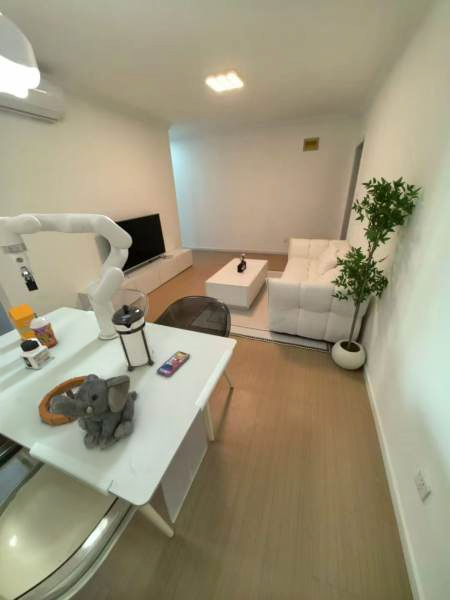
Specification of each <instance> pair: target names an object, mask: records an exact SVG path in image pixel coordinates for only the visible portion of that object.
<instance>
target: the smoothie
mask: <svg viewBox="0 0 450 600" xmlns="http://www.w3.org/2000/svg"><path fill="white" fill-rule="evenodd" d="M34 315H35V317H36V318H34V319H33V320H32V321H31V323H30V328H31V329H32V331H33V333H34V334H35V336H36V337H37V338H36V339H38V341H39V343H40V345H41V346H47V348H48V349H49V348H52V347H54V346H56V344H57V341H58V340H57V336H56V335H55V332H54V329H53V327H52V325H51V321H50V320H49V319H48V318H46V317H44V316H38V315H37V313H36V312H34Z"/></svg>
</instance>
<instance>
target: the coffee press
mask: <svg viewBox="0 0 450 600" xmlns="http://www.w3.org/2000/svg"><path fill="white" fill-rule="evenodd" d="M114 312H115V313H114V314H113V317H112V319H111V320H112V323H113V324H114V328H115V331H116V333H117V335H118V336H117V338H118V341H119V344H120V348H121V350H122V354H123V357H124V360H125V362H126V364H127V371H129V372H132V371H133V368H134V367H140V366H143V365H145V364H149V366H152V365H153V364H154V363H155V362H154V360H153V359H152V357H153V349H152V346H151V345H152V344H151V341H150V339H149V338H150V337H149V333H148V330H147V325H146V320H145V317H144V315H145V313H144V310H142V309H141V308H140V307H138V306H133V305H131V306H130V305H129V306H128V304H123V305H122V307H121V308H119V309H117V310H116V311H114Z"/></svg>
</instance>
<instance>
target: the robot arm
mask: <svg viewBox="0 0 450 600" xmlns="http://www.w3.org/2000/svg"><path fill="white" fill-rule="evenodd" d="M38 232H57V233H63V234H93V233H94V234H96V233H97V234H100V235H101V236H102V237H104V239H106V240H107V241H108V243H109V245H110V252H109V254H108V256H107V258H106V260H105V261H104V263H103V264H102V266H101V267H100V268H99V271H98V277H99V278H100V279H101V280H93V281H91V282H89V283H87V285H86V288H85V293H86V296H87V298H88V300H89V303H90V305H91V307H92V310H93V313H94V316H95V319H96V323H97V324H98V327H99V330H100V332H99V333H98V336H99V338H100V339H101V340H106V341H107V340H112V339H116V338H118V335H117V333H116V331H115V328H114V324H113V323H112V320H111V319H112V317H113V314H114V313H115V312H116V311H115V309H114V305H113V302H112V300H113V299H114V298H115V296H116V294H117V293H118V291H119V290H120V289H121V286H122V285H123V283H124V280H125V274H124V271H123V268H124V266H125V264H126V262H127V261H128V257H129V248H131V247H132V244H133V239H132V236H131V235H130V234H129V233H128V232H127V231H126V230H124V229H123V228H122V227H121V226H119V224H117V223H115V222H114V221H113V220H112V219H111V218H110V217H108V216H106V215H105V214H99V213H67V212H66V213H65V212H63V213H20V214H19V215H15V216H0V248H1V250H2V252H3V254H4V256H5V255H6V256H9V258H10V260H11V262H12V264H13V266H14V267H15V269H16V271H17V273H18V275H19V276H20V278H23V280H24V284H25V285H26V288H27V291H28V292H34V291H37V290H39V287H38V285H37V282H36V280H35V278H34V276H35V275H36V271H35V270H34V268H33V265H32V263H31V260H30V259H29V257H28V255H27V252H28V247H27V245H26V244H25V241H24V239H23V236H22V235H34V234H37V233H38Z"/></svg>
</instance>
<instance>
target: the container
mask: <svg viewBox="0 0 450 600" xmlns="http://www.w3.org/2000/svg"><path fill="white" fill-rule="evenodd" d="M19 347H20V349H21V350H22V353H20V354H19V355H18V356H19V357H20V359H21V361H22V363H23V364H24V366H25V368H27V369H28V368H29V369H37V370H40V369H41V368H42V367H44V366H45V365H46V364H47V363H49V362H50V361H51V360H52V359H54V357H53V356H52V353H51V351H50V350H49V348H47V346H42V345H41V344H40V342H39V341H38V339H37V338H31V339H28V340H23V341H22V342H21V343H20V345H19Z"/></svg>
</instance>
